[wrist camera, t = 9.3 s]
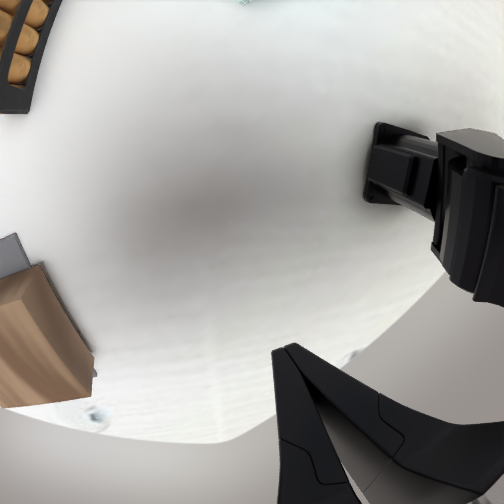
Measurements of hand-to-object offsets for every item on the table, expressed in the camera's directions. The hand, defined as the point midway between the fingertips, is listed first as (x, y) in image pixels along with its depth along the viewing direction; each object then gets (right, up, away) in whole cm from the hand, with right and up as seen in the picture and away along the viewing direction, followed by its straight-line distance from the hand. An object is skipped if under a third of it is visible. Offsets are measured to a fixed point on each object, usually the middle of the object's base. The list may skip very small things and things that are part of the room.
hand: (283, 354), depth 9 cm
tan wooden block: (-14, -2, +7) cm, 16 cm away
